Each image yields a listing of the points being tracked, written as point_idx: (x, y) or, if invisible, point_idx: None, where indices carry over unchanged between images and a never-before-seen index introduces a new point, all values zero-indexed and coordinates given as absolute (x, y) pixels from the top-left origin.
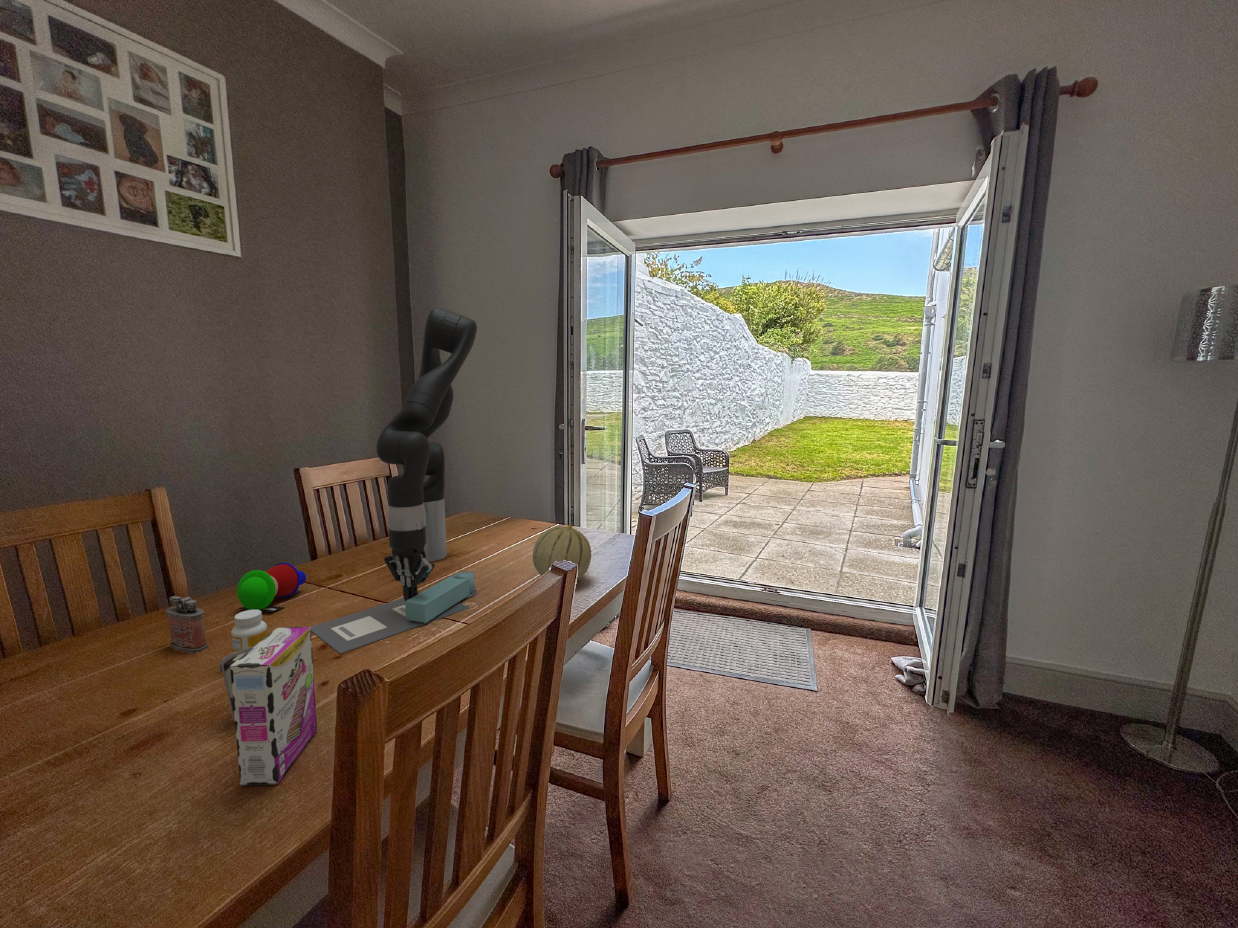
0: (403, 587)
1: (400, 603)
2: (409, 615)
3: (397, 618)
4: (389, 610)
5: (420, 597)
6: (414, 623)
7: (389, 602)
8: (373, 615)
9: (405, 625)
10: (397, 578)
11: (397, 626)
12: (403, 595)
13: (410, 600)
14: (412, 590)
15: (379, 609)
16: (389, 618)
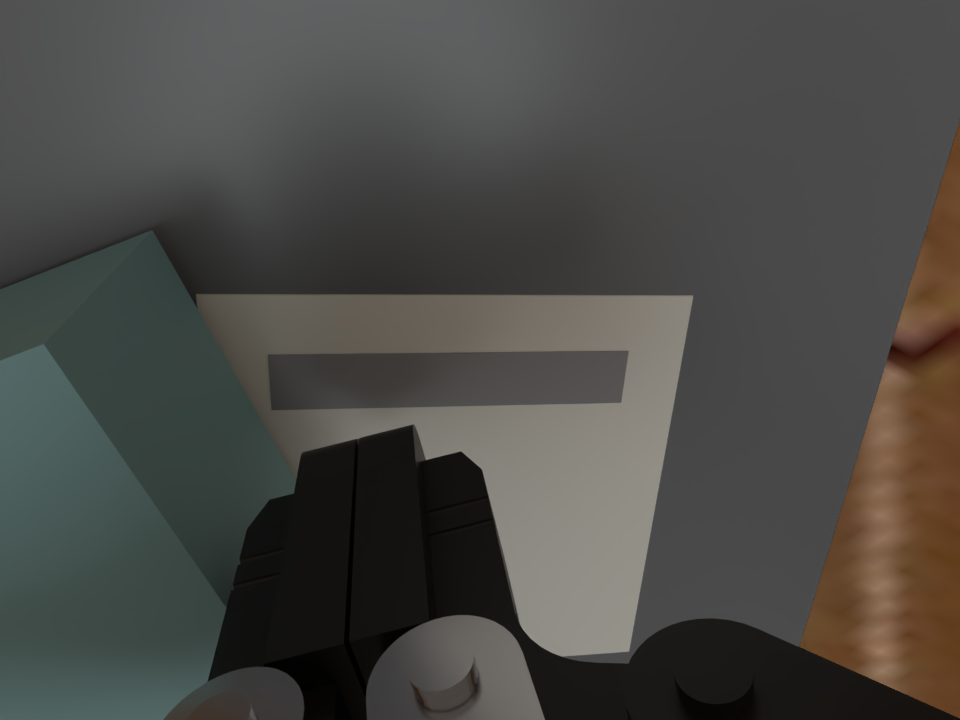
0: (494, 590)
1: (740, 434)
2: (59, 278)
3: (359, 196)
4: (677, 251)
5: (63, 620)
6: (9, 268)
7: (877, 364)
8: (722, 13)
9: (29, 149)
10: (677, 703)
11: (73, 46)
12: (476, 475)
13: (21, 443)
14: (219, 648)
15: (817, 179)
16: (442, 117)
